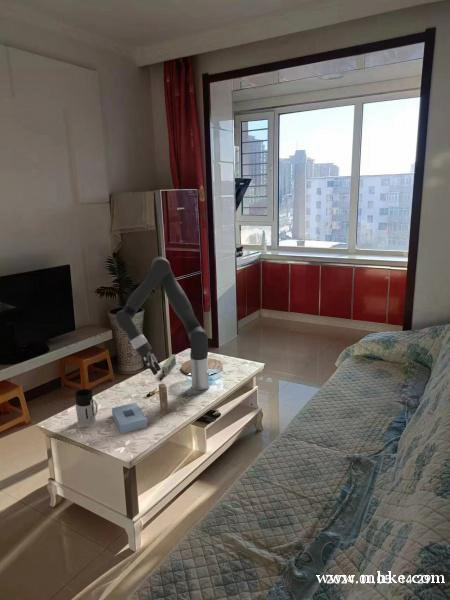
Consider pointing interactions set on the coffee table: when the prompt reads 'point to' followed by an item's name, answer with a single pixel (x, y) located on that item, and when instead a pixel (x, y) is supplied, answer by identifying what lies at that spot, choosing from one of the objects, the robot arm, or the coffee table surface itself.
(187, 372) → the trivet
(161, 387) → the slat
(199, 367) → the robot arm
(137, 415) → the end cap
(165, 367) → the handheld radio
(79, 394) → the white travel mug
